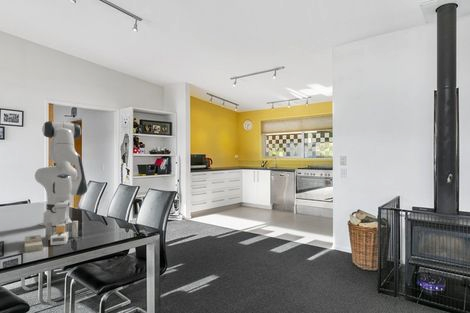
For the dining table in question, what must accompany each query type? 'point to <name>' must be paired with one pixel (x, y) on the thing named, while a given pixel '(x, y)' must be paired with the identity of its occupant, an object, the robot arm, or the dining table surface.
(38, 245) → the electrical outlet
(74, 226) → the post
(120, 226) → the dining table surface
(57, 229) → the breaker toggle
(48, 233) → the post
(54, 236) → the breaker block
